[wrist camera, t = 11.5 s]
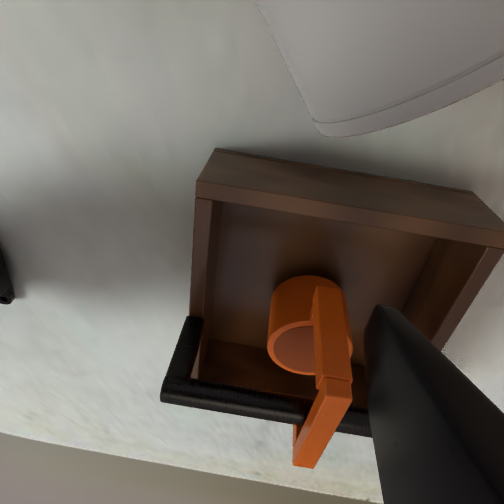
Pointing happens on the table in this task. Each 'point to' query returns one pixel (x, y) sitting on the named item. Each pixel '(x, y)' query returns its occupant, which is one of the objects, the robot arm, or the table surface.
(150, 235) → the table surface
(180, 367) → the basket handle
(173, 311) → the table surface
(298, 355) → the measuring cup
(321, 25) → the bent grey cylinder
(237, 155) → the basket
